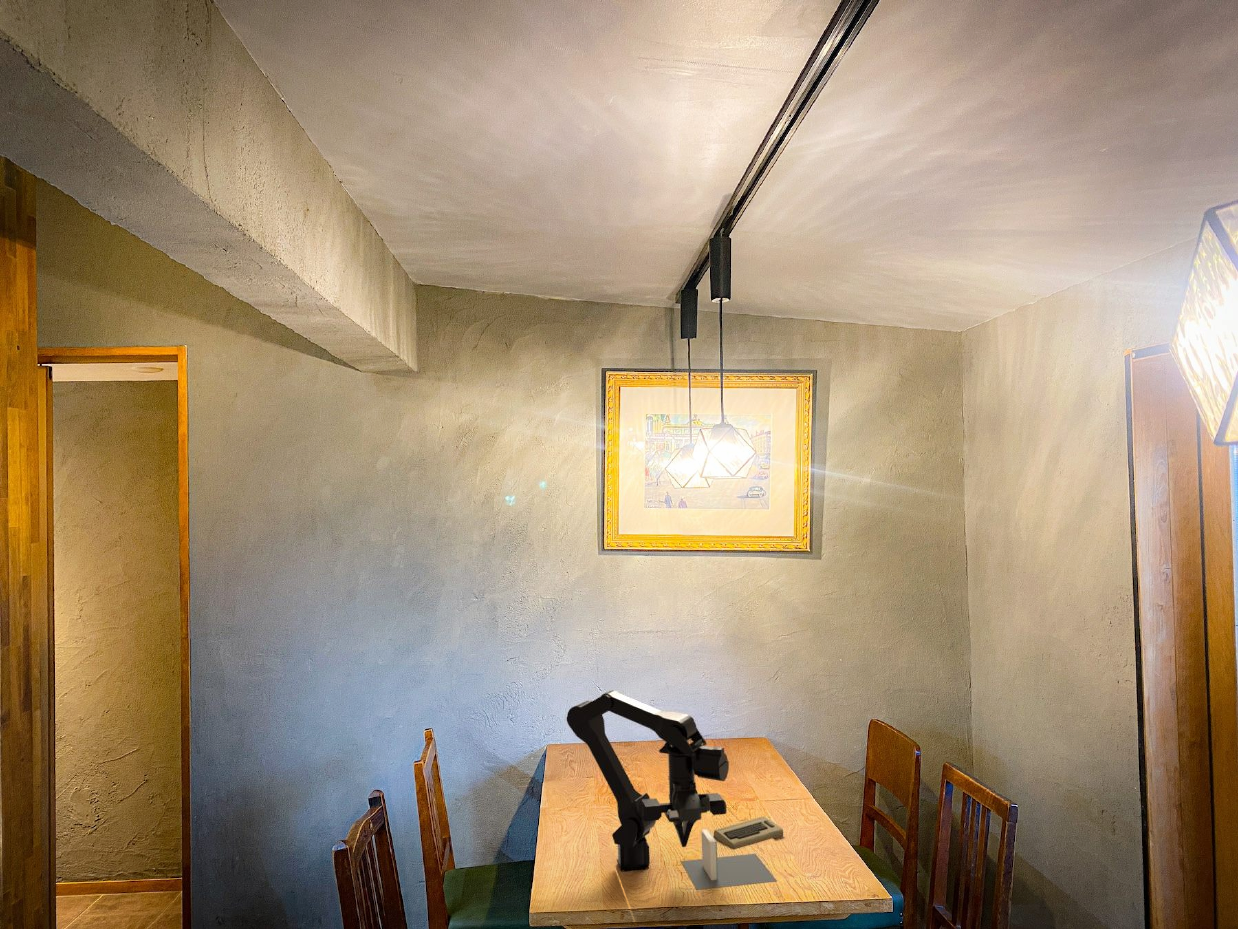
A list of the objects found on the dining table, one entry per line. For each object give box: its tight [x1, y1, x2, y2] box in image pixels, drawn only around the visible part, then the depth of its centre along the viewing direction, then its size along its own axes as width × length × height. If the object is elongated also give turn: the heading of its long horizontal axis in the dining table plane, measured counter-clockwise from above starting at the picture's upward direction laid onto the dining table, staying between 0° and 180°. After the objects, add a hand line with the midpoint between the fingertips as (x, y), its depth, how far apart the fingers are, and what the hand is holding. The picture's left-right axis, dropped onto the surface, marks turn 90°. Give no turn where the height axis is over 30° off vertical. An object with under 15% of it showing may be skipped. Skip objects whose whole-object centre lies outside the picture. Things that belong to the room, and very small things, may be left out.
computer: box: [713, 816, 784, 849], centre depth 193 cm, size 16×8×3 cm, turn 120°
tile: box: [701, 828, 718, 880], centre depth 174 cm, size 2×7×8 cm, turn 10°
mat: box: [680, 853, 778, 891], centre depth 174 cm, size 18×14×1 cm
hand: (683, 846), depth 173 cm, fingers closed
